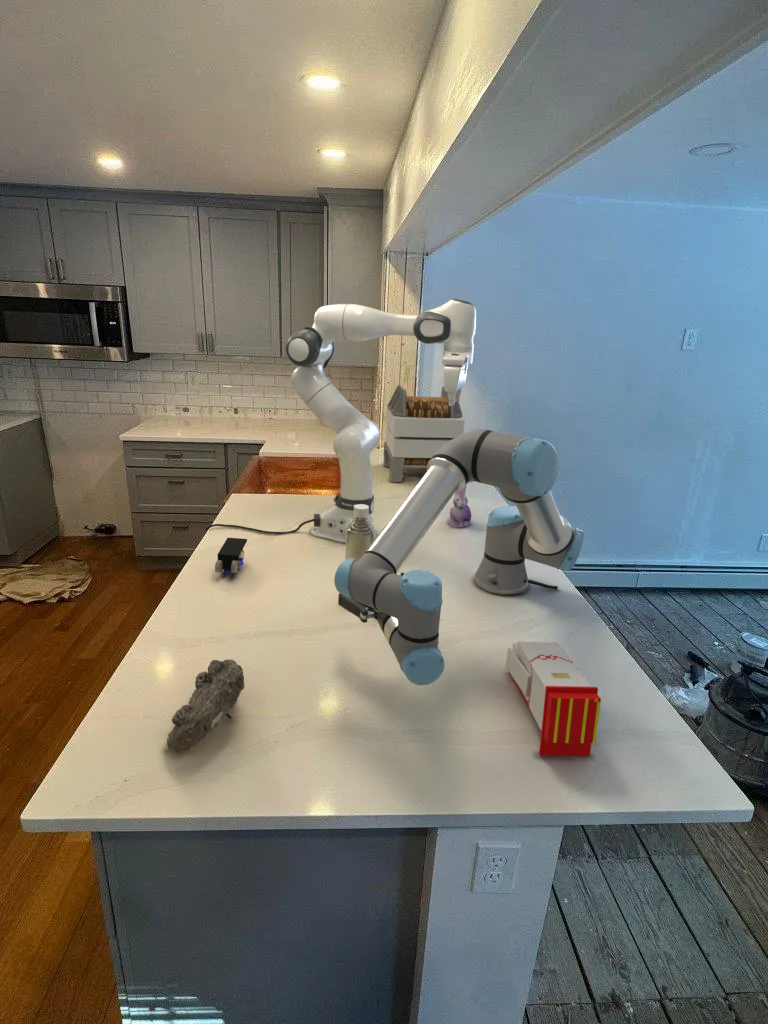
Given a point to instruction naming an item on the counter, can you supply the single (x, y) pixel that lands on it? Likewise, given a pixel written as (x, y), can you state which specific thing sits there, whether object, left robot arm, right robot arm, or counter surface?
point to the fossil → (206, 705)
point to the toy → (556, 697)
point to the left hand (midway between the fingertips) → (454, 403)
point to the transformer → (418, 429)
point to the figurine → (460, 510)
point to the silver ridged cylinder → (359, 538)
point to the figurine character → (230, 556)
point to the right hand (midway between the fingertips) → (374, 579)
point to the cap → (361, 510)
